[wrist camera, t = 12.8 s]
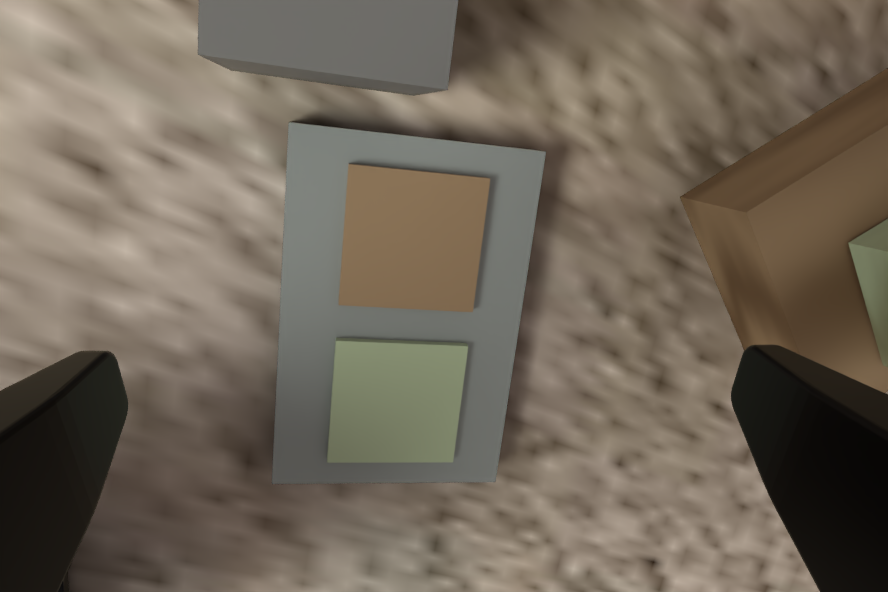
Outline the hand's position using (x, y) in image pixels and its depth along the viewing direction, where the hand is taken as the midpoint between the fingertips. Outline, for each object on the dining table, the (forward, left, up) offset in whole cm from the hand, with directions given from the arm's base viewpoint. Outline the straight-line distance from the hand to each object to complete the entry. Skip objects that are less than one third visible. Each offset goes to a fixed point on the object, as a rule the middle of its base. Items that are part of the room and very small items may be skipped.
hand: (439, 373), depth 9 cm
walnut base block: (+1, -17, -13) cm, 21 cm away
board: (-3, -1, -12) cm, 13 cm away
